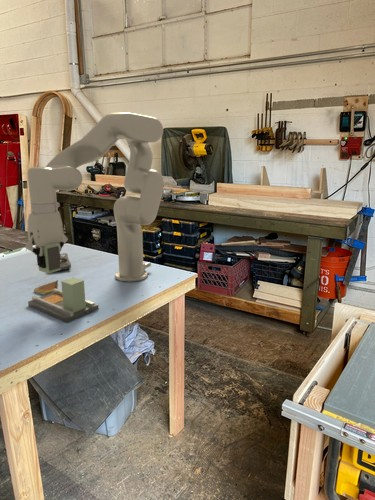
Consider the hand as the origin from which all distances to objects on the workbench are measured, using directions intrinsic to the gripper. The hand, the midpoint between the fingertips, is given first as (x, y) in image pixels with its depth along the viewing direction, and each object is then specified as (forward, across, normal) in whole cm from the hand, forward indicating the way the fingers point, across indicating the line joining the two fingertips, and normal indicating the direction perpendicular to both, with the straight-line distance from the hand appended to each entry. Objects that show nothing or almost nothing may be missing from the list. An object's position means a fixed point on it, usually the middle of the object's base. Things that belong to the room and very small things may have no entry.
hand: (49, 264), depth 119 cm
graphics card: (+14, -24, -32) cm, 43 cm away
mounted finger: (+12, 0, +11) cm, 16 cm away
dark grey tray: (+14, 0, +5) cm, 14 cm away
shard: (+14, -6, -13) cm, 20 cm away
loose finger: (+2, 0, 0) cm, 2 cm away
